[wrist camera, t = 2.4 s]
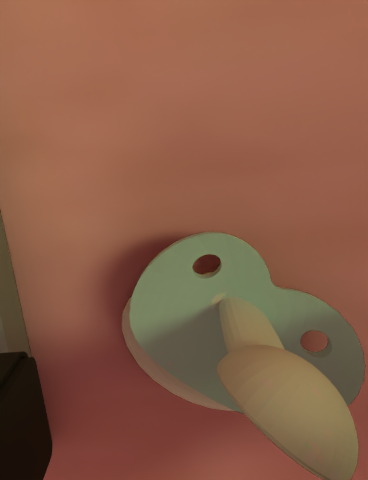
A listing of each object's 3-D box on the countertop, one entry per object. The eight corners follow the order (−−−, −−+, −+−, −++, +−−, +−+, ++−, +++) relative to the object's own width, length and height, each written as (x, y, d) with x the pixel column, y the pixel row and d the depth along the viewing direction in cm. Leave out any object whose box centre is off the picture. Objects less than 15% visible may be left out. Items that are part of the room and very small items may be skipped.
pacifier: (245, 422, 13) (356, 317, 12) (295, 665, 7) (537, 516, 6) (86, 326, 12) (190, 191, 10) (-12, 532, 6) (201, 283, 4)
